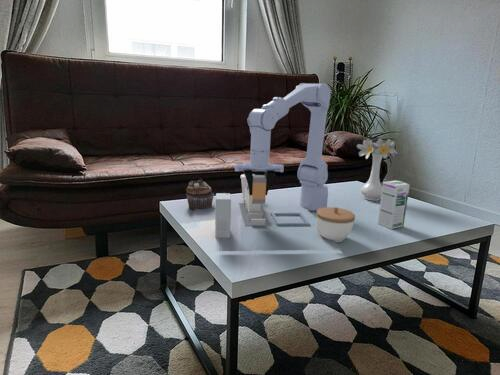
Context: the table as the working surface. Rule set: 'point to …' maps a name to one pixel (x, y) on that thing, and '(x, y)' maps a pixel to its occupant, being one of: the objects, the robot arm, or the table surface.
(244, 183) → the smoothie
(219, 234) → the skincare box
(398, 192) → the syrup box
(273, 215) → the tray
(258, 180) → the block
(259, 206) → the block
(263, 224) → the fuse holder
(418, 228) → the table surface
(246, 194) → the block
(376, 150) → the flower vase
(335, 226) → the lidded jar
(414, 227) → the table surface
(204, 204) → the cupcake
